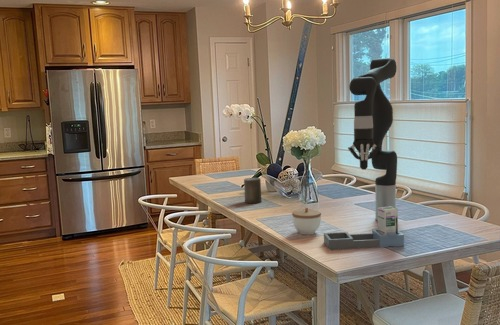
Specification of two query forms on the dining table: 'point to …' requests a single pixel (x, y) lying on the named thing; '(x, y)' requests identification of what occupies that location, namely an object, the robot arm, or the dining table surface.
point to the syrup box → (387, 220)
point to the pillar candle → (252, 190)
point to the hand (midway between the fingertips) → (363, 169)
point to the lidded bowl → (306, 220)
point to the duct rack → (362, 240)
